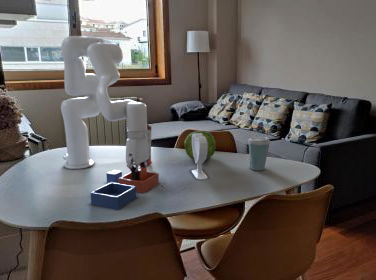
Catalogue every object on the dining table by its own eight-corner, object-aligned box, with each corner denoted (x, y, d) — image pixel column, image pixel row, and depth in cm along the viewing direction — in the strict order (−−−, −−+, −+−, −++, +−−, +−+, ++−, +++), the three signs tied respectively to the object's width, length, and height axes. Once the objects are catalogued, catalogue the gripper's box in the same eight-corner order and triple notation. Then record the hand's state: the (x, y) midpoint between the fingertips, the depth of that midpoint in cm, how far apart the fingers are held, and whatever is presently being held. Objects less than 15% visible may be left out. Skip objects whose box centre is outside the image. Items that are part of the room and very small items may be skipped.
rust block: (131, 179, 142) (131, 169, 141) (137, 176, 146) (137, 166, 145) (141, 181, 140) (140, 170, 139) (147, 177, 145) (146, 167, 143)
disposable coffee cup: (243, 169, 167) (244, 138, 164) (250, 163, 177) (252, 134, 174) (265, 173, 164) (266, 141, 160) (271, 166, 173) (273, 136, 170)
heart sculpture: (190, 169, 166) (190, 131, 162) (200, 168, 168) (200, 131, 164) (197, 180, 152) (197, 139, 148) (209, 179, 154) (209, 138, 149)
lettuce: (216, 158, 194) (211, 130, 195) (220, 156, 173) (215, 126, 174) (186, 163, 191) (182, 135, 192) (187, 162, 171) (182, 131, 172)
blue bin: (91, 204, 126) (90, 192, 125) (111, 193, 136) (110, 182, 135) (117, 209, 122) (117, 197, 121) (136, 197, 133) (136, 186, 132)
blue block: (106, 183, 147) (106, 172, 146) (113, 179, 151) (113, 169, 150) (115, 184, 145) (115, 174, 144) (122, 181, 149) (121, 171, 148)
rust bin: (119, 188, 141) (118, 178, 140) (135, 179, 151) (135, 169, 150) (143, 193, 137) (143, 182, 136) (158, 183, 147) (158, 173, 146)
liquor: (144, 168, 165) (142, 109, 159) (133, 166, 169) (131, 107, 162) (155, 164, 171) (154, 107, 165) (144, 162, 175) (142, 105, 168)
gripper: (141, 129, 148) (143, 171, 152) (115, 137, 132) (118, 184, 137) (157, 131, 145) (158, 173, 150) (133, 139, 130) (135, 186, 134)
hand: (139, 178), depth 143 cm, fingers closed on rust block, 4 cm apart
